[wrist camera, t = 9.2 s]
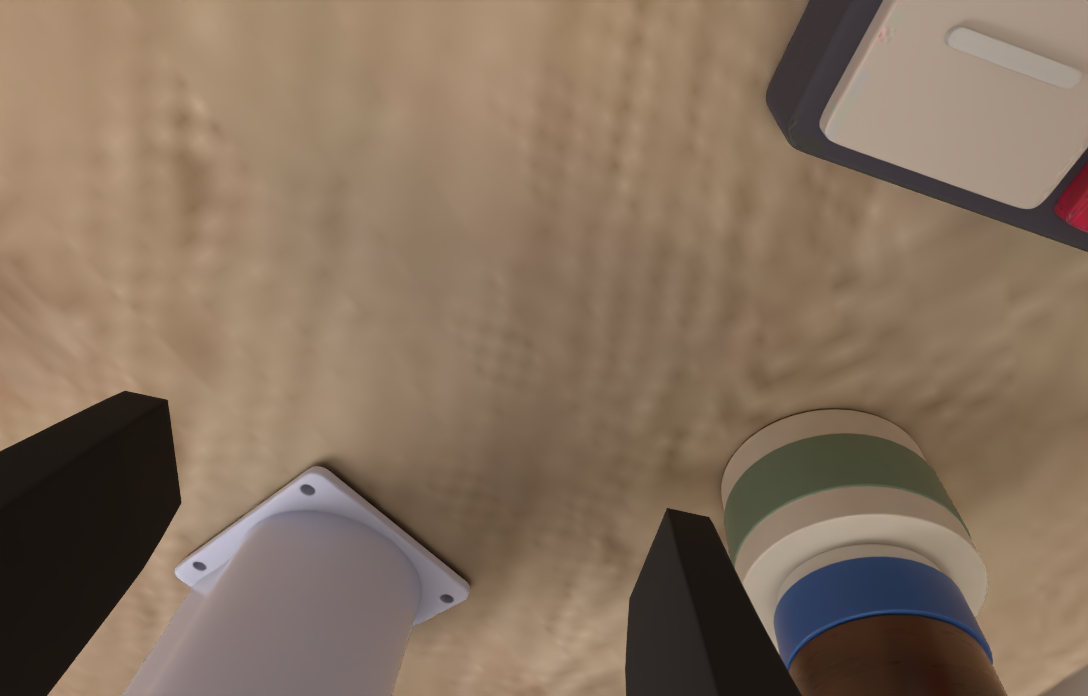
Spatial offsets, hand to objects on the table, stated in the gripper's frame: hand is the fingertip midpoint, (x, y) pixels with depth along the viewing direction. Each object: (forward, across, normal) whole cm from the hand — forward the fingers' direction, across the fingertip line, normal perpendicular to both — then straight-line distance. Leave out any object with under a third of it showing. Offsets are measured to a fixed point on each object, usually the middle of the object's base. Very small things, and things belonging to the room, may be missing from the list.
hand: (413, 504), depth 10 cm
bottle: (+10, -12, +6) cm, 17 cm away
